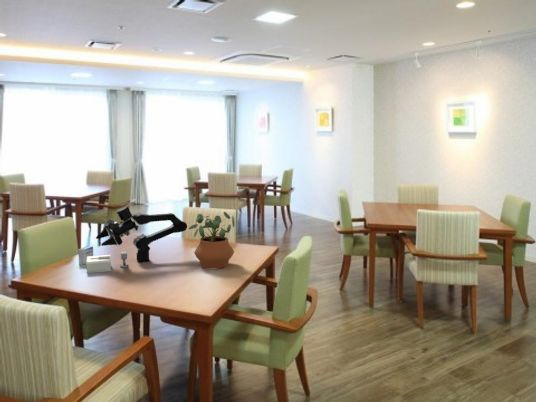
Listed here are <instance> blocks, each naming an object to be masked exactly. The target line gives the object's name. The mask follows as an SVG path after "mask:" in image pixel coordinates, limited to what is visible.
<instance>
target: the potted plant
mask: <svg viewBox="0 0 536 402" xmlns="http://www.w3.org/2000/svg"><path fill="white" fill-rule="evenodd" d="M223 215H224V216H225V219H223V220H222V218H221V217H222V216H221V215H215V217H214V218H213V219H211V218H210V215H207V216H205V218H206V219H205V221H204V215H203V214H202V213H198V214H197V215H196V216H197V217H196V220H195V224H193V225H190V226H189V228H188V230H191V229H196V230H195V232H194V234H193V238H195V237H196V236H197V234H198V233H199V235H200V237H201V238H200V239H199V240H200V241H199V244H198V245H197V247H196V248H195V250H194V251H193V253H194V256H195V257H196V258H197V259H198V261H199V264H200V267H201V268H202V269H207V268H220V269H223V268H222V267H224V268H226V267H225V266H227V265H228V266H229V262H230V260H231V259H232V257H233V255H234V253H235V250H234V248H233V246H232V245H231V244H230V243H229V238H228V237H227V236H226V233H227V234H229V233H230V232H231V228H232V227H233V228H235V217H234V215H232V217H230V215H229V213H227V212H226V211H223ZM226 219H228V220H231V223H232V225H231V224H228V225H227V227H226V229H225V228H223V226H225V224H224V225H222V226H221V225H220V224H221V223H222V222H223V221H225V220H226ZM203 221H204V225H199V227H198V224H202V223H203ZM197 227H198V228H197ZM205 228H206V229H207V230H208V231H209V232H210V234H211V235H210V234H208V235H205V234H207V232H205ZM209 228H210V229H211V230H212V231H211V230H210V229H209ZM218 231H219V233H218ZM228 266H227V267H228Z"/></svg>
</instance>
